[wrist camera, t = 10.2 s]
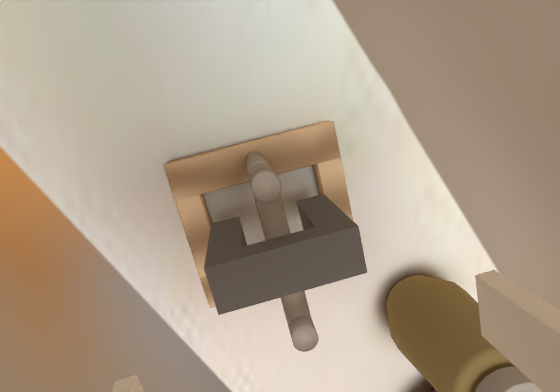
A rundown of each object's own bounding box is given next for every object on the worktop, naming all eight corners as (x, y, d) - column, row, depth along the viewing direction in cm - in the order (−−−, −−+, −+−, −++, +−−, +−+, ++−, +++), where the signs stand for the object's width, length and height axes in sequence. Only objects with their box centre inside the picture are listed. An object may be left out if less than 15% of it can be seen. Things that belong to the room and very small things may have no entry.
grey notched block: (221, 259, 29) (218, 314, 21) (210, 224, 28) (203, 268, 20) (331, 229, 30) (367, 272, 22) (324, 193, 29) (358, 225, 21)
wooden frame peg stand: (167, 161, 31) (130, 194, 19) (327, 121, 32) (382, 129, 20) (211, 296, 34) (201, 393, 23) (354, 255, 35) (415, 328, 24)
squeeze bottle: (444, 334, 39) (617, 518, 21) (370, 337, 38) (490, 533, 20) (456, 262, 37) (657, 400, 20) (379, 263, 36) (520, 409, 19)
